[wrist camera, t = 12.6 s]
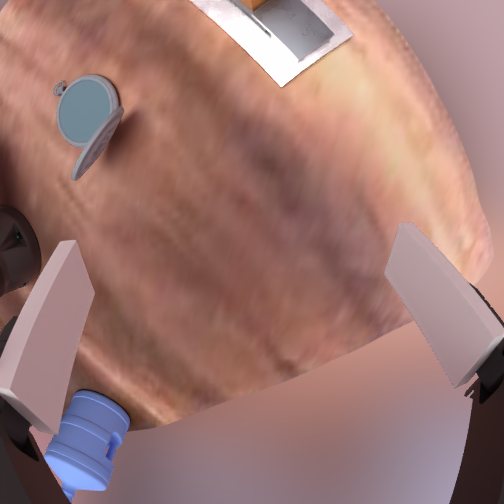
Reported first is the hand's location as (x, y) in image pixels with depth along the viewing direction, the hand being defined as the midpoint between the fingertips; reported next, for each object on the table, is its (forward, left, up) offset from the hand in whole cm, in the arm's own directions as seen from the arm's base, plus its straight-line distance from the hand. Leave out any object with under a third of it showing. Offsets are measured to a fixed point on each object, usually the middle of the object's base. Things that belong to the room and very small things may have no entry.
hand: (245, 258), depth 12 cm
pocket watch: (-24, 0, -26) cm, 35 cm away
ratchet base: (-10, +21, -26) cm, 34 cm away
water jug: (-18, -65, -26) cm, 73 cm away
